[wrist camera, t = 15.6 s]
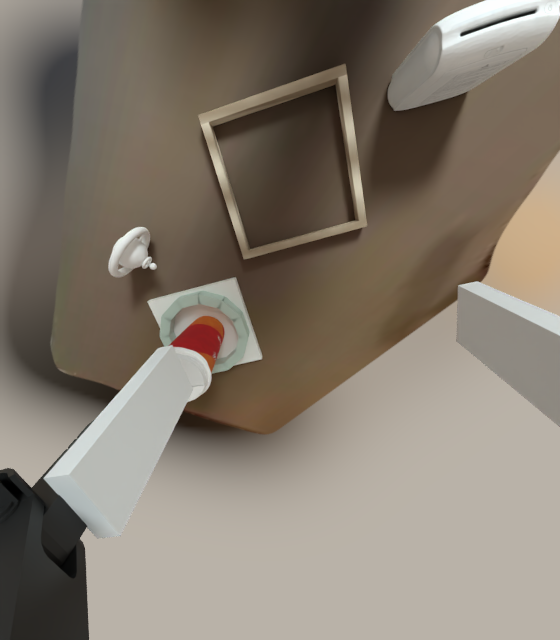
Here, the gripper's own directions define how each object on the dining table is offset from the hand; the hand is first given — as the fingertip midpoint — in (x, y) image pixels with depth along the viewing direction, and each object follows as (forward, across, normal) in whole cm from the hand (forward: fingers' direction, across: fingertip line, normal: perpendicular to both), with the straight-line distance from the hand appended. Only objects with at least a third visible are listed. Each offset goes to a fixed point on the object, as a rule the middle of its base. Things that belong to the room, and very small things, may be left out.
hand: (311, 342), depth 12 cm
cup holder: (+30, -18, -10) cm, 36 cm away
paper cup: (+29, -17, -10) cm, 35 cm away
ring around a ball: (+30, -22, +4) cm, 38 cm away
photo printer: (+31, +20, +15) cm, 40 cm away
